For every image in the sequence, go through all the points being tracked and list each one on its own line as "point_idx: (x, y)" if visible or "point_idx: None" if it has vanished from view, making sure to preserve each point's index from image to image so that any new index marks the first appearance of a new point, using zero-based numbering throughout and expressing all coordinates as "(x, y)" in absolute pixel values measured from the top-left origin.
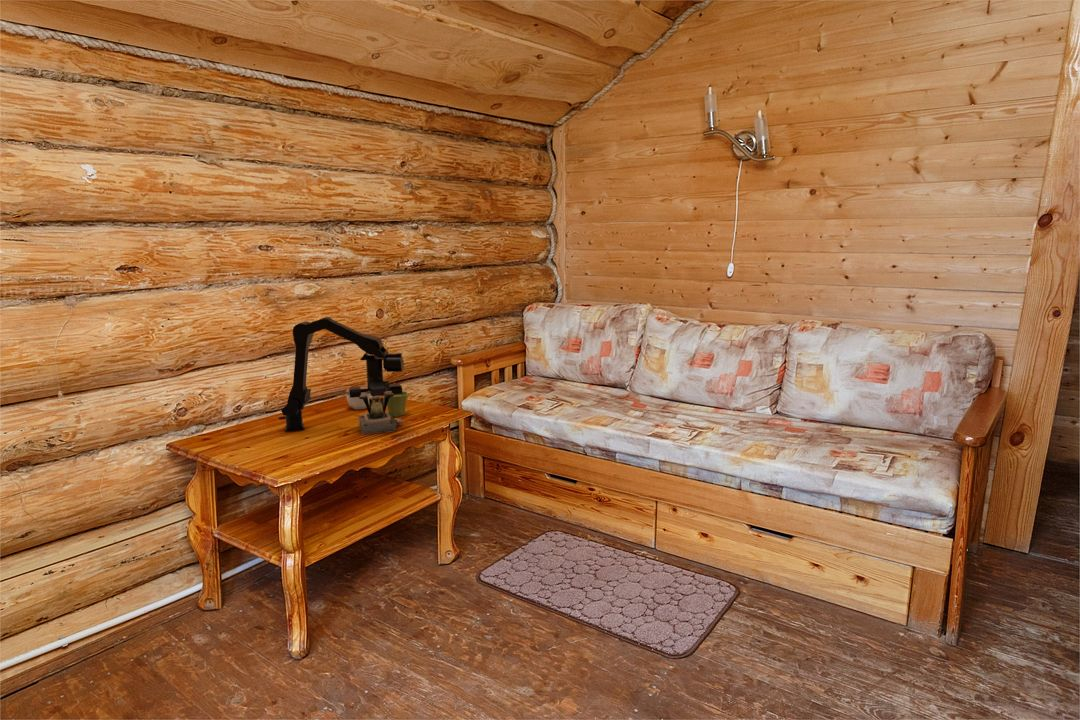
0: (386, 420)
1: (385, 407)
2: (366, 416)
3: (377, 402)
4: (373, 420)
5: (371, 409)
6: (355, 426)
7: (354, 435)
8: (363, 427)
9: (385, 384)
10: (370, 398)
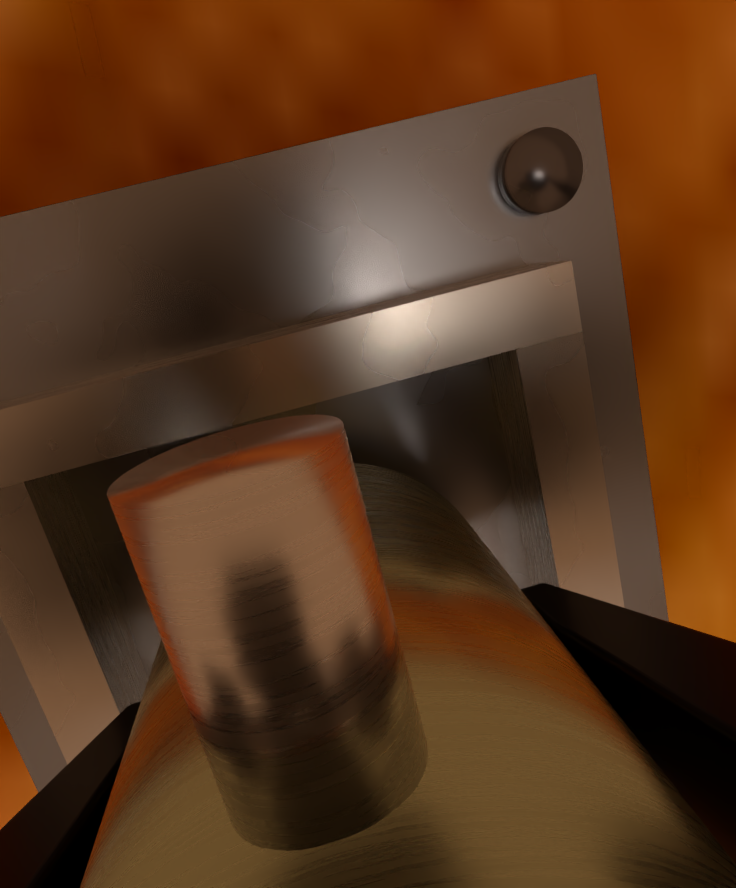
0: (62, 388)
1: (43, 801)
2: (575, 579)
3: (206, 481)
4: (375, 309)
5: (514, 591)
6: (666, 590)
7: (654, 88)
8: (555, 86)
9: None
10: None
